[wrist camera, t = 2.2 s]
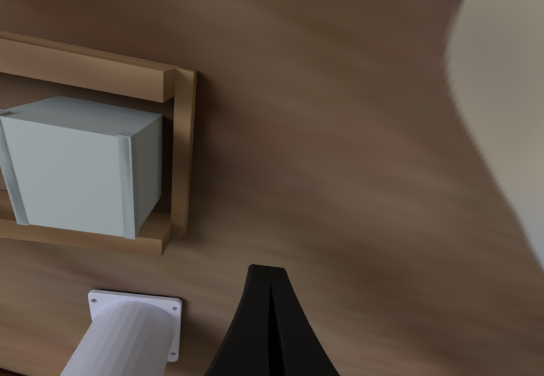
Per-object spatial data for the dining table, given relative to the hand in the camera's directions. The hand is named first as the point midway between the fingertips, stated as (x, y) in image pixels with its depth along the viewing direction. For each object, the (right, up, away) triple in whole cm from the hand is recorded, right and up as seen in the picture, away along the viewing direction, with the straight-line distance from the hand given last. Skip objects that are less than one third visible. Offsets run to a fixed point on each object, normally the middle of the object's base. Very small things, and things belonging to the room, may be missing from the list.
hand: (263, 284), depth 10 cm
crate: (-10, +6, +8) cm, 14 cm away
